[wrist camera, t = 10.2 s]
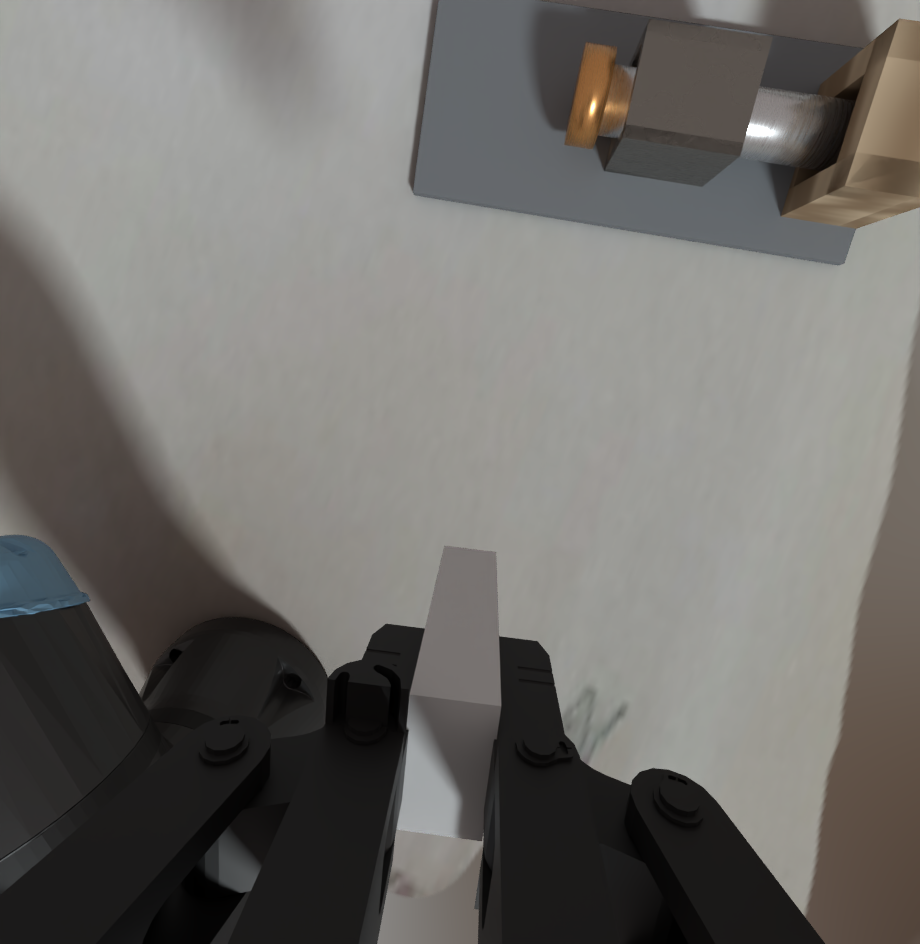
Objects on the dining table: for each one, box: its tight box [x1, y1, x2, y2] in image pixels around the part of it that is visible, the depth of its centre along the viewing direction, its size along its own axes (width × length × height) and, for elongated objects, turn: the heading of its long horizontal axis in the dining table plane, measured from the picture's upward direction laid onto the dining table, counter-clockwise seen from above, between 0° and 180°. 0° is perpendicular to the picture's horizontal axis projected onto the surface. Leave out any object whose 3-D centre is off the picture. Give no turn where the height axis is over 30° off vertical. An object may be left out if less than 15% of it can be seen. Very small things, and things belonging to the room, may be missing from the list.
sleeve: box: [604, 19, 773, 187], centre depth 28 cm, size 6×5×5 cm
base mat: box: [413, 0, 864, 265], centre depth 31 cm, size 27×11×1 cm, turn 80°
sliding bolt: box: [564, 42, 856, 171], centre depth 28 cm, size 16×5×5 cm, turn 80°
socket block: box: [781, 19, 920, 229], centre depth 27 cm, size 4×7×6 cm, turn 170°
